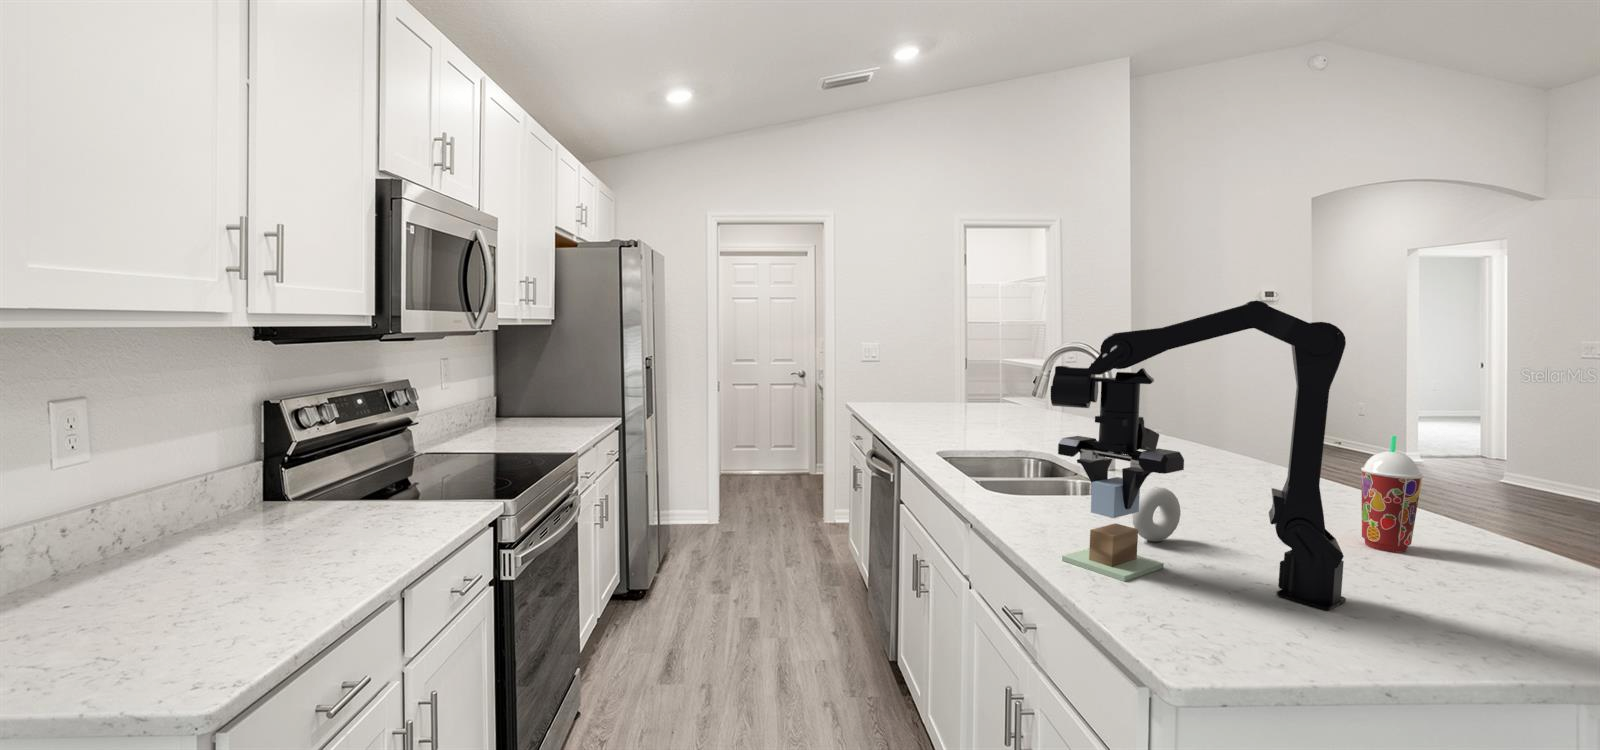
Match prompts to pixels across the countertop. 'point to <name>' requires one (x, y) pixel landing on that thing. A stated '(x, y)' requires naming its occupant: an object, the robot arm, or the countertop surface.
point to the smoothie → (1389, 500)
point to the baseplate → (1119, 571)
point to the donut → (1166, 517)
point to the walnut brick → (1113, 544)
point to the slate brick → (1111, 498)
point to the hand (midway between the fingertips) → (1115, 505)
